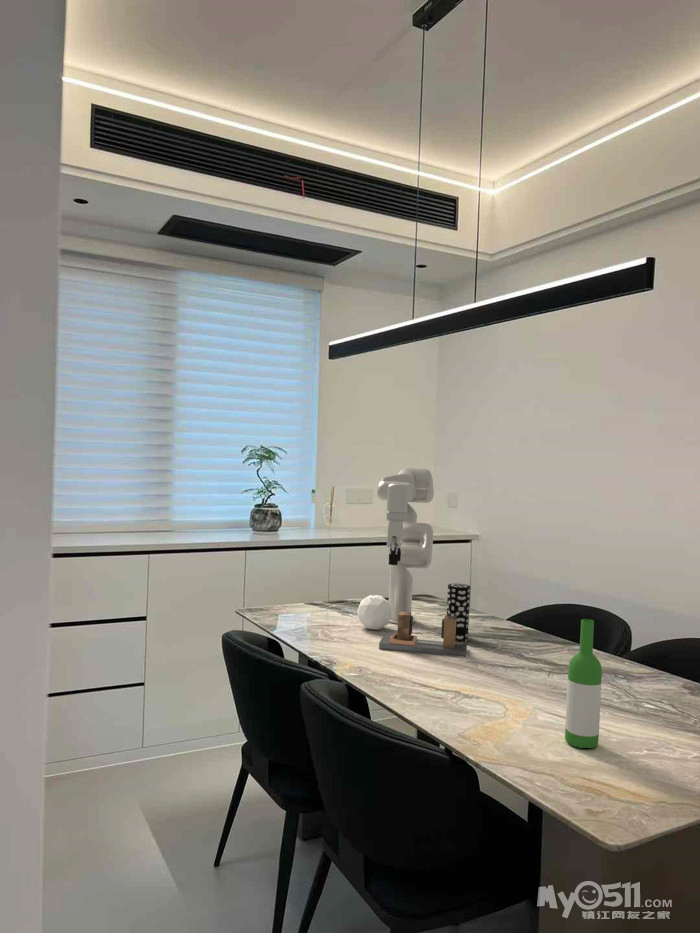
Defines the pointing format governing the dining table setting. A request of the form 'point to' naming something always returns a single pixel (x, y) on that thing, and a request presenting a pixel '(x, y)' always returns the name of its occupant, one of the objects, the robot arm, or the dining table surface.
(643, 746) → the dining table surface
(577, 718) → the wine bottle
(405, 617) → the gripped brown wooden block
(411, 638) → the rail
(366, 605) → the geodesic sphere
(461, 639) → the white-spotted black cylinder
